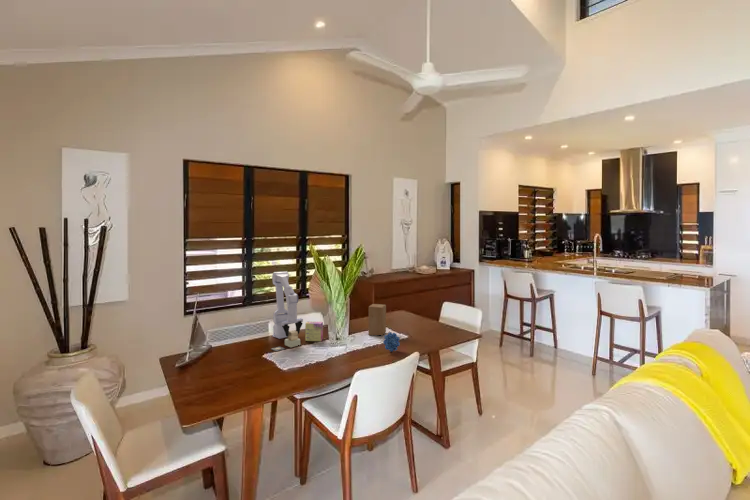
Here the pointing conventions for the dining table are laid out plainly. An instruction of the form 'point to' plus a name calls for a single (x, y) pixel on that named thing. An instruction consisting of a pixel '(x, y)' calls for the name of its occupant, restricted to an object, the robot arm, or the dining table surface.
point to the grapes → (391, 341)
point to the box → (313, 331)
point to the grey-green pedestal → (292, 343)
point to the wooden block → (377, 319)
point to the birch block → (293, 335)
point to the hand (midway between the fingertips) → (292, 334)
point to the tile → (277, 348)
